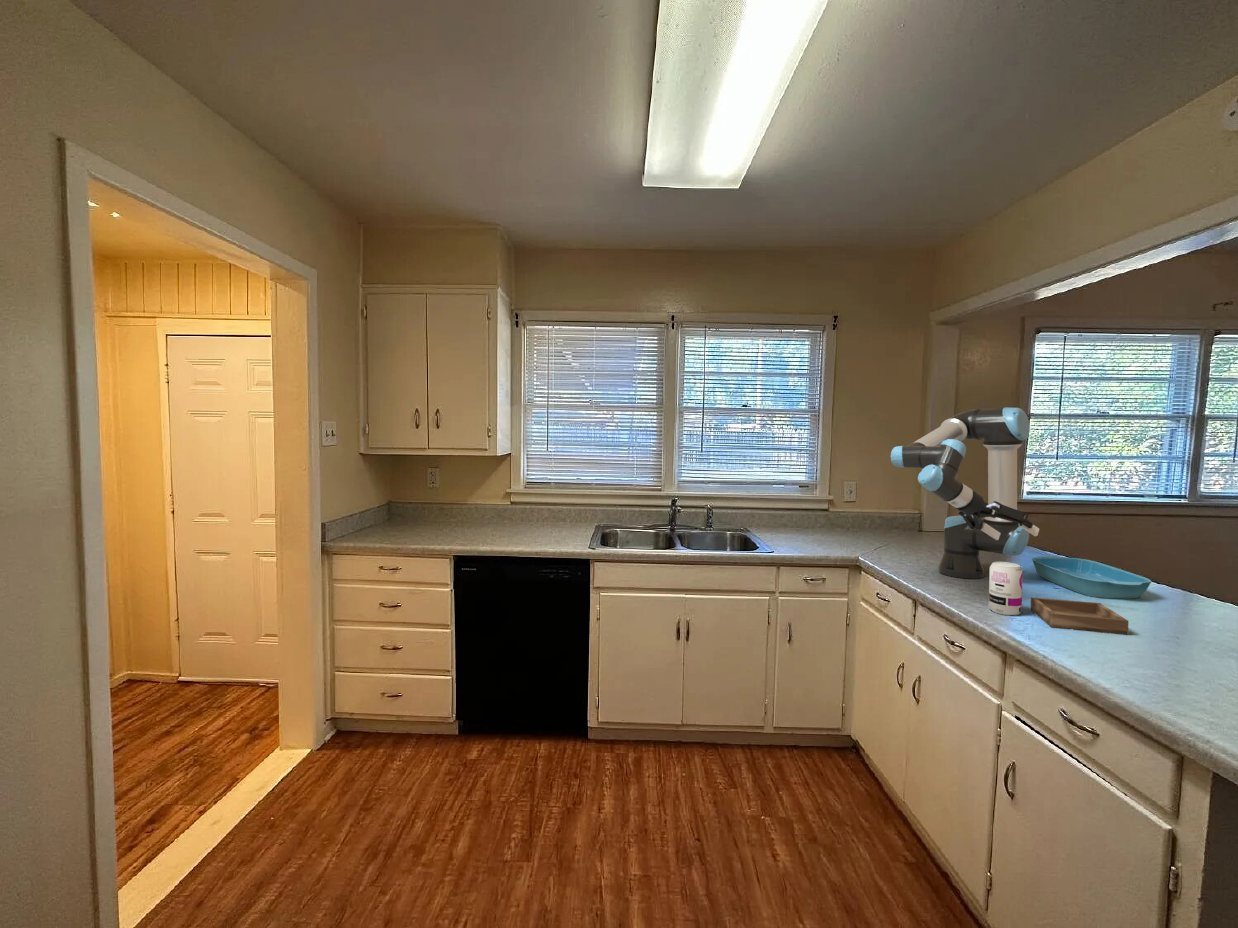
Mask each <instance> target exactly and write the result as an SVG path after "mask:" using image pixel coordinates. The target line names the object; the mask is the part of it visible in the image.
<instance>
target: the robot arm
mask: <svg viewBox="0 0 1238 928" xmlns="http://www.w3.org/2000/svg"><path fill="white" fill-rule="evenodd" d="M1030 432H1031V426H1030V422H1029V418H1028V415H1027V414H1026V411H1024V410H1023V409H1022V408H1019V407H993V408H992V407H991V408H973V409H968V410H965V411H963V412H960V413H956V414H955V415H953V416H951V417H948V418H947V419H945V420H944V421H942V422H941V423H940V426H939V427H937V428H935V429H934V430H932V431H930V432H929V433H927V434H925V435H923V436H922V437H920V438H919V439H917V440H915V441H913V442H912V443H909V444H908V445H899V446H894V447H893V448H892V450H891V452H890V462H891V464H892V465H893V466H894V467H896V468H903V469H905V468H908V469H909V468H910V469H921V471H920V472H919V473H918V475H917V481H918V484H920V485H921V486H922V487H923V488H925V490H927V491H929V492H931V493H932V494H934V495H935V496H937V497H938V498H940V499H941V500H943V501H945V502H946V503H948V504H949V505H951V506H952V507H954V508H956V510H958V511H959V512H958V515H951V516H948V517H946V519H945V520H944V527H943V530H944V531H943V533H944V534H943V535H944V537H943V538H944V539H943V540H944V541H943V542H944V543H943V544H944V546H943V553H942V556H941V559H940V561H939V563H938V564H939V565H938V572H939V573H940V574H941V575H945V576H949V577H953V578H959V579H969V580H970V579H971V580H972V579H974V580H975V579H983V578H984V577H985V569H984V567H983V564H982V560H981V557H980V551H981V552H986V553H993V554H999V555H1003V556H1019V555H1021V554H1022V553H1023V552H1024V551H1025V549H1026V547H1027V546H1028V543H1029V540H1030V539H1029V538H1030V534H1031V535H1032V536H1034V537H1037V536H1038V535H1039V532H1040V528H1039V527H1038V526H1036V525H1034V524H1033V522H1031V521H1029V520H1028V518H1029V514H1028V513H1026V512H1023V511H1021V510H1018V449H1019V448H1020V447H1021V446H1023V441H1025V440H1027V439H1028V438H1029V436H1030ZM967 440H968V441H973V440H974V441H977V440H978V441H982V446H983V447H984V448H986V449H987V477H988V478H987V482H988V483H987V492H988V493H987V498H988V499H987V501H988V502H985V500H984V498H983V496H981V495H980V494H979V493H977V492H976V491H975V490H973V489H972V488H970V487H969V486H967V485H966V484H965V483H963V482H961V481H960V480H959V479H957V476H958V474H959V470H960V469H961V466H962V463H963V461H964V460H965V456H966V453H967V446H966V445H965V443H964V442H962V441H967Z"/></svg>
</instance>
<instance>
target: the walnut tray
mask: <svg viewBox="0 0 1238 928" xmlns="http://www.w3.org/2000/svg"><path fill="white" fill-rule="evenodd" d="M1030 611H1031V612H1033V613H1034V614H1035V615H1036V616H1037V617H1038V618H1039V619H1041V621H1043V622H1044V623H1045V624H1046V625H1047V626H1049V627H1050V628H1051V629H1062V630H1070V629H1073V631H1082V632H1091V633H1092V632H1093V633H1101V634H1102V633H1103V634H1114V635H1124V636H1128V635H1129V620H1128V619H1126V618H1125V617H1123V616H1122V615H1120V614H1119V613H1117V612H1115V611H1114V610H1112V609H1110V608H1109V607H1107V606H1106V605H1104V604H1102V603H1101V602H1093V601H1092V602H1091V601H1082V600H1081V601H1080V600H1079V601H1078V600H1069V599H1068V600H1067V599H1054V598H1041V597H1030Z"/></svg>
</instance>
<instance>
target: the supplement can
mask: <svg viewBox="0 0 1238 928" xmlns="http://www.w3.org/2000/svg"><path fill="white" fill-rule="evenodd" d="M1023 572H1024V571H1023V570H1022V567H1021V565H1020V564H1018V563H1014V562H1008V561H993V562H992V563H991V565H990V566H989V573H988V574H989V578H988V579H989V580H988V581H989V583H988V586H989V587H988V609H990V611H991V610H992V612H993V613H996V614H999V615H1003V616H1010V615H1015V616H1018V615H1020V614H1021V613H1022V612H1023V611H1022V606H1023V603H1022V601H1023V575H1024V574H1023Z"/></svg>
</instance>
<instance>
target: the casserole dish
mask: <svg viewBox="0 0 1238 928" xmlns="http://www.w3.org/2000/svg"><path fill="white" fill-rule="evenodd" d="M1031 560H1032V564H1033V567H1034V568H1035V569H1034V570H1035V571H1036V573H1037V574H1038V575H1039V577H1042V578H1043V579H1045V580H1046V581H1049V582H1050V583H1053V584H1056V585H1058V586H1060V587H1062V588H1065V589H1067V590H1070V591H1072V592H1075V593H1077V592H1078V594H1080V595H1083V596H1086V597H1091V598H1098V599H1099V598H1100V599H1132V598H1133V599H1138V598H1140V597H1142V596H1143V595H1144V594H1145V593H1146V592H1147V591H1148V588H1149V587H1150V585H1151V584H1152V580H1151V579H1149V578H1147V577H1145V576H1142V575H1139V574H1135V573H1133V572H1130V571H1127V570H1123V569H1121V568H1118V567H1115V566H1111V565H1107V564H1105V563H1101V562H1099V561H1095V560H1090V559H1085V558H1079V557H1077V558H1076V557H1068V556H1057V555H1056V556H1055V555H1052V556H1051V555H1050V556H1049V555H1048V556H1047V555H1044V556H1039V557H1038V556H1036V557H1033V558H1032V559H1031Z"/></svg>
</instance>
